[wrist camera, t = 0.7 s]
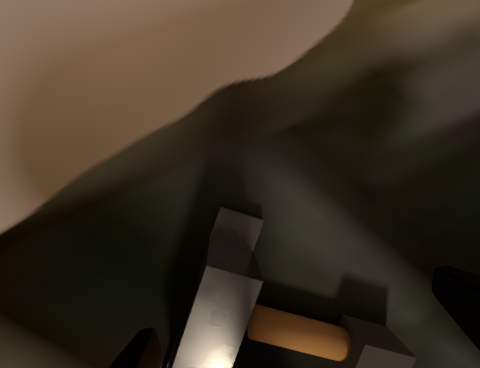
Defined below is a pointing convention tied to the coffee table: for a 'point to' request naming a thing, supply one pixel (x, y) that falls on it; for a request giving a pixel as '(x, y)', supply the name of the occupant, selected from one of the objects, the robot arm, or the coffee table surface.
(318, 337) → the plug
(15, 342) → the coffee table surface
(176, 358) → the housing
